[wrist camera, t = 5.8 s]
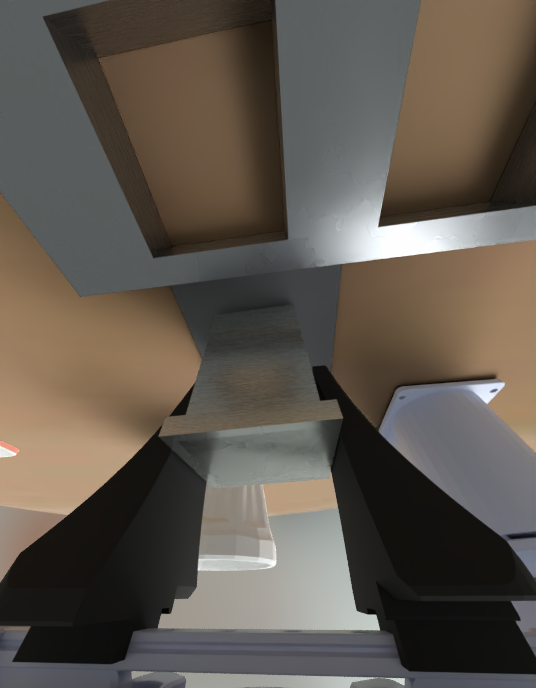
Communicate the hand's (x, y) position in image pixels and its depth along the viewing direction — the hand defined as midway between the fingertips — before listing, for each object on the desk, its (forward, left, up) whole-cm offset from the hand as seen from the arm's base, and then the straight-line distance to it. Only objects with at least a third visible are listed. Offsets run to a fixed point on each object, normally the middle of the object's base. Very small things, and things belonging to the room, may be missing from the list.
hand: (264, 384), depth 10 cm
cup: (-15, +6, -4) cm, 17 cm away
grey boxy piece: (+1, 0, -3) cm, 3 cm away
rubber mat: (0, 0, -4) cm, 4 cm away
